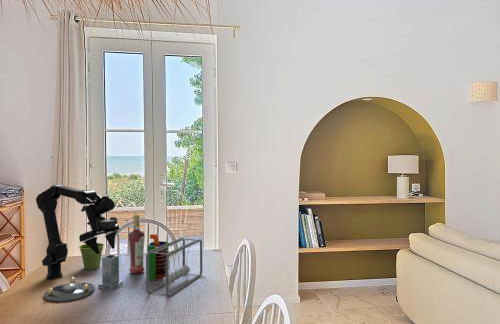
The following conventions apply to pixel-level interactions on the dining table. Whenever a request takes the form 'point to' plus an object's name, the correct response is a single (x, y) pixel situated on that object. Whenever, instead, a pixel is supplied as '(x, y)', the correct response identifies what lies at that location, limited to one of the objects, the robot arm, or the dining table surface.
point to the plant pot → (91, 256)
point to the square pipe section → (110, 273)
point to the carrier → (69, 291)
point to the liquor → (136, 247)
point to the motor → (157, 259)
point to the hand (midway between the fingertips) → (106, 251)
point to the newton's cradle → (175, 274)
